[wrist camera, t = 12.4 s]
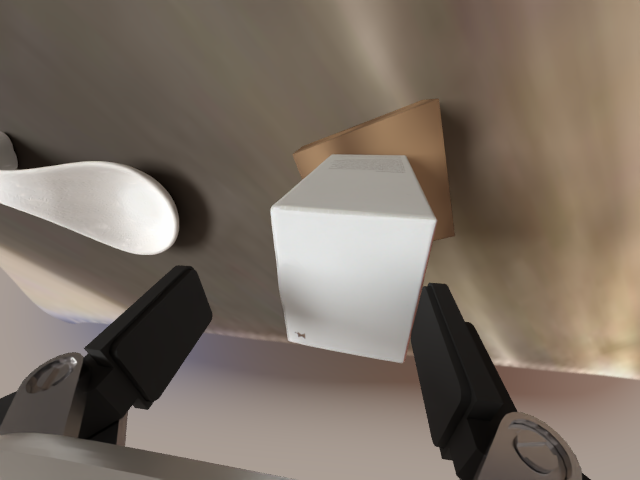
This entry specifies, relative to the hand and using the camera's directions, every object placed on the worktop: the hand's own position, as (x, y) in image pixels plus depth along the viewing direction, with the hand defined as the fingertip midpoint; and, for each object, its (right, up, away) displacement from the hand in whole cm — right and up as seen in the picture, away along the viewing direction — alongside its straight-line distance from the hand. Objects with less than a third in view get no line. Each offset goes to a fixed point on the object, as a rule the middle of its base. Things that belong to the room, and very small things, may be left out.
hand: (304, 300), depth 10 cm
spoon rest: (-27, +10, +21) cm, 35 cm away
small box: (+5, +6, +12) cm, 14 cm away
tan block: (+6, +9, +16) cm, 19 cm away
